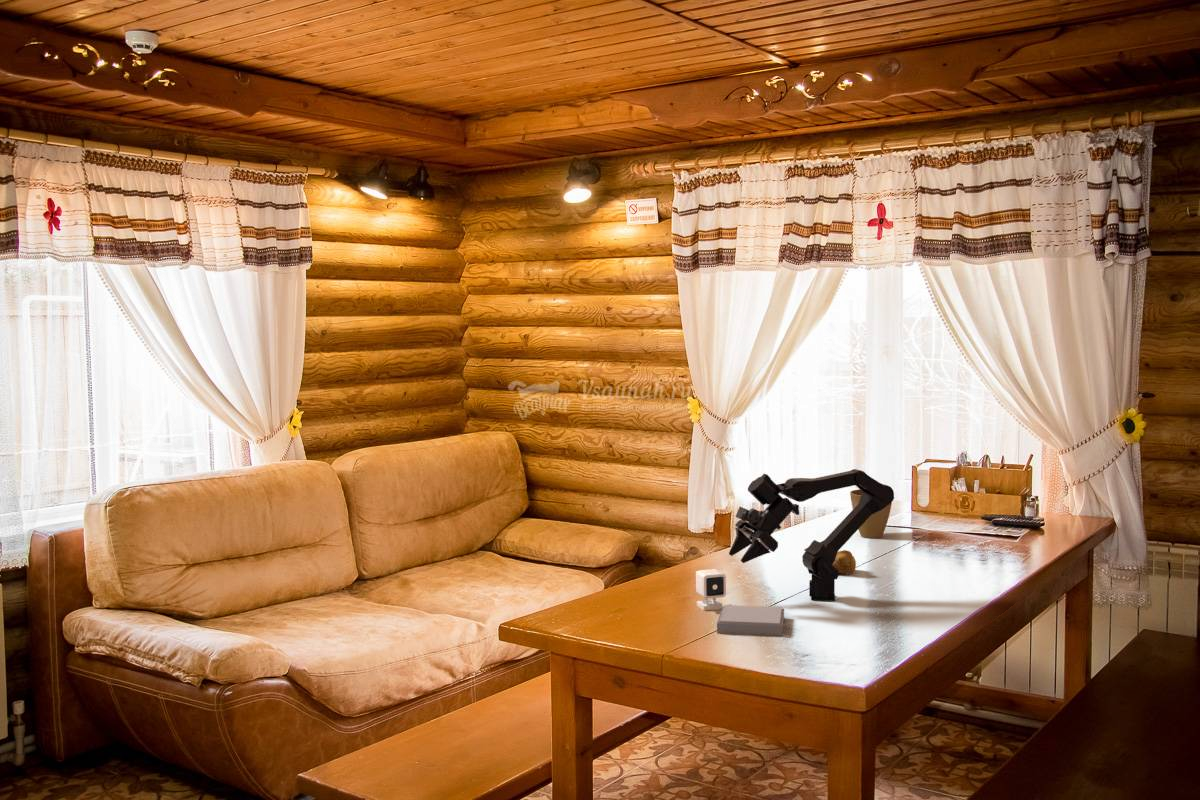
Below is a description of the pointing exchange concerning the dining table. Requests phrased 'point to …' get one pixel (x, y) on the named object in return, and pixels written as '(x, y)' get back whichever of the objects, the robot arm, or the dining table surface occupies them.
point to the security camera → (710, 588)
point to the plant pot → (871, 518)
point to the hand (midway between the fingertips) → (735, 558)
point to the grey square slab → (751, 620)
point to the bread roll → (844, 562)
